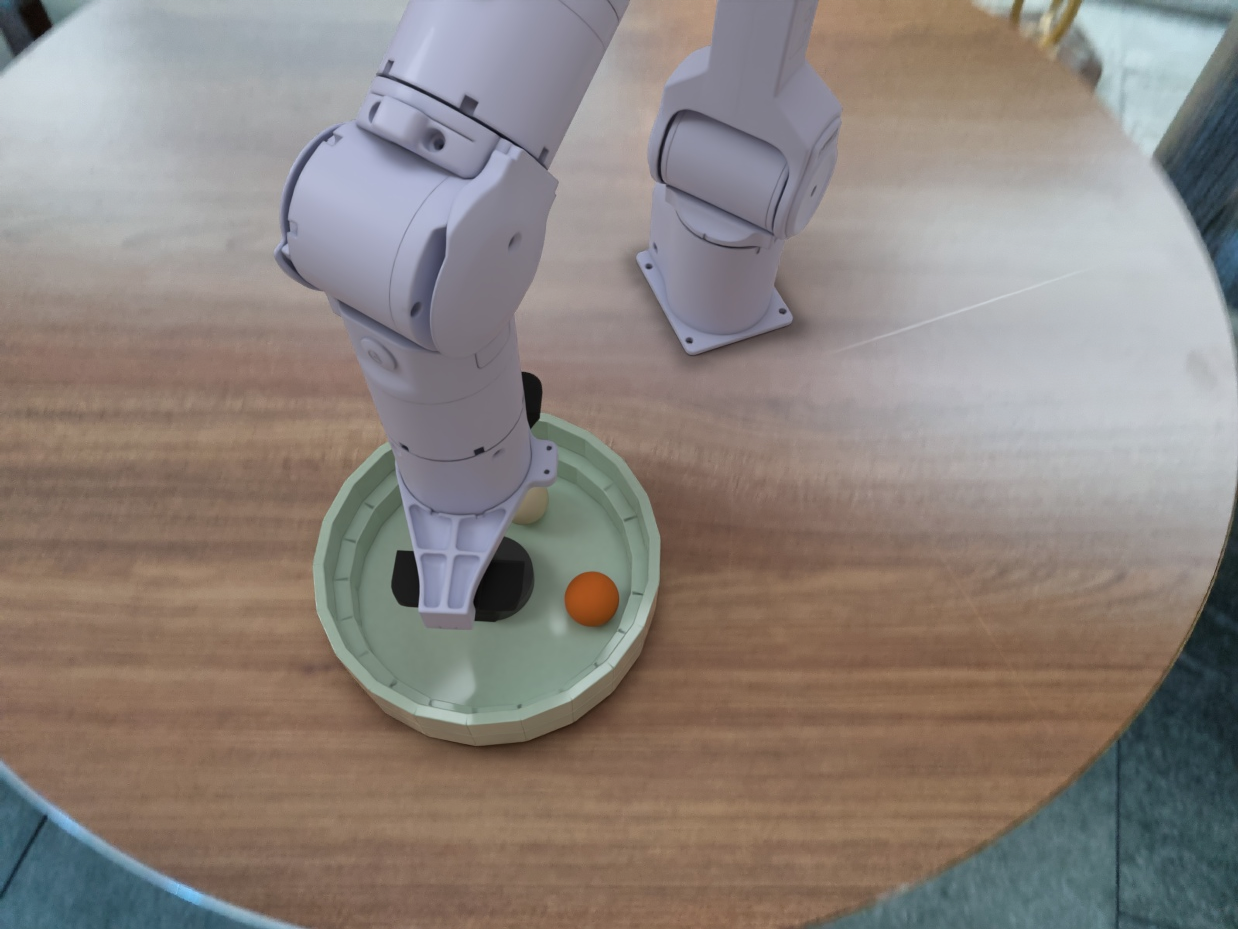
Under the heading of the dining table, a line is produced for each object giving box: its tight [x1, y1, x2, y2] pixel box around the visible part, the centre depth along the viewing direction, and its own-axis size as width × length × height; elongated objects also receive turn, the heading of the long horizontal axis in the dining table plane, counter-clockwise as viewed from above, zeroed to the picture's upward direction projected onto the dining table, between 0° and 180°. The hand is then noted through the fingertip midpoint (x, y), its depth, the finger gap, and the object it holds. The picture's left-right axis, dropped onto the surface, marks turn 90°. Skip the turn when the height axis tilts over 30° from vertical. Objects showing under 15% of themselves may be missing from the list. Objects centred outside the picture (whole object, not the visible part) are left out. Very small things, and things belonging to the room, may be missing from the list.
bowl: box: [312, 412, 662, 747], centre depth 51 cm, size 18×18×5 cm
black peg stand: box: [492, 536, 534, 621], centre depth 49 cm, size 5×5×8 cm
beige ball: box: [512, 487, 549, 525], centre depth 54 cm, size 3×3×3 cm
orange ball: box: [565, 571, 619, 627], centre depth 51 cm, size 3×3×3 cm
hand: (487, 545), depth 48 cm, fingers open, 7 cm apart
